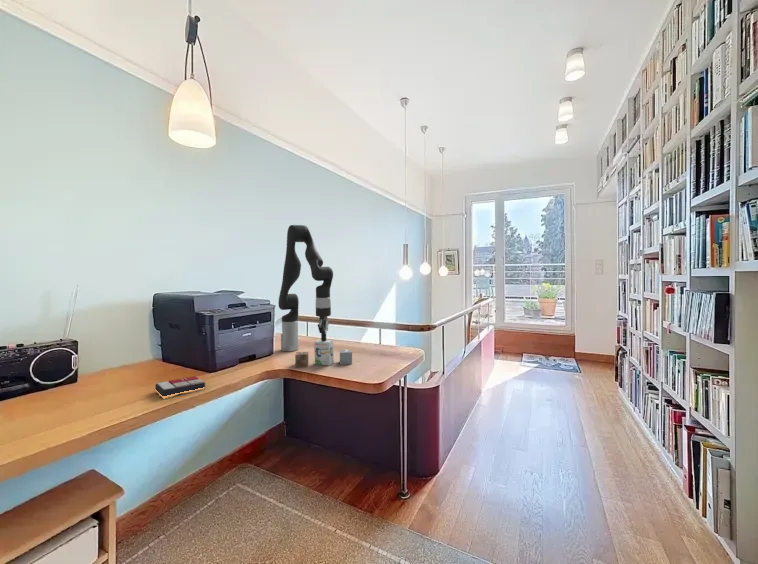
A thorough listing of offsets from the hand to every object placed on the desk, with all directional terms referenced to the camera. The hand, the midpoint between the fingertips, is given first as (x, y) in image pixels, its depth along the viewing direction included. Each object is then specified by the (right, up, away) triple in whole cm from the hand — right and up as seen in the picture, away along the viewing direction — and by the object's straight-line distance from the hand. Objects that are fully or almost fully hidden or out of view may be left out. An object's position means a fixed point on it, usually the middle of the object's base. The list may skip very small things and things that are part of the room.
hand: (323, 340), depth 176 cm
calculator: (-52, -15, -36) cm, 65 cm away
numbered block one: (-11, -12, -1) cm, 16 cm away
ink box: (0, -12, +1) cm, 12 cm away
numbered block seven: (+11, -12, +2) cm, 16 cm away
